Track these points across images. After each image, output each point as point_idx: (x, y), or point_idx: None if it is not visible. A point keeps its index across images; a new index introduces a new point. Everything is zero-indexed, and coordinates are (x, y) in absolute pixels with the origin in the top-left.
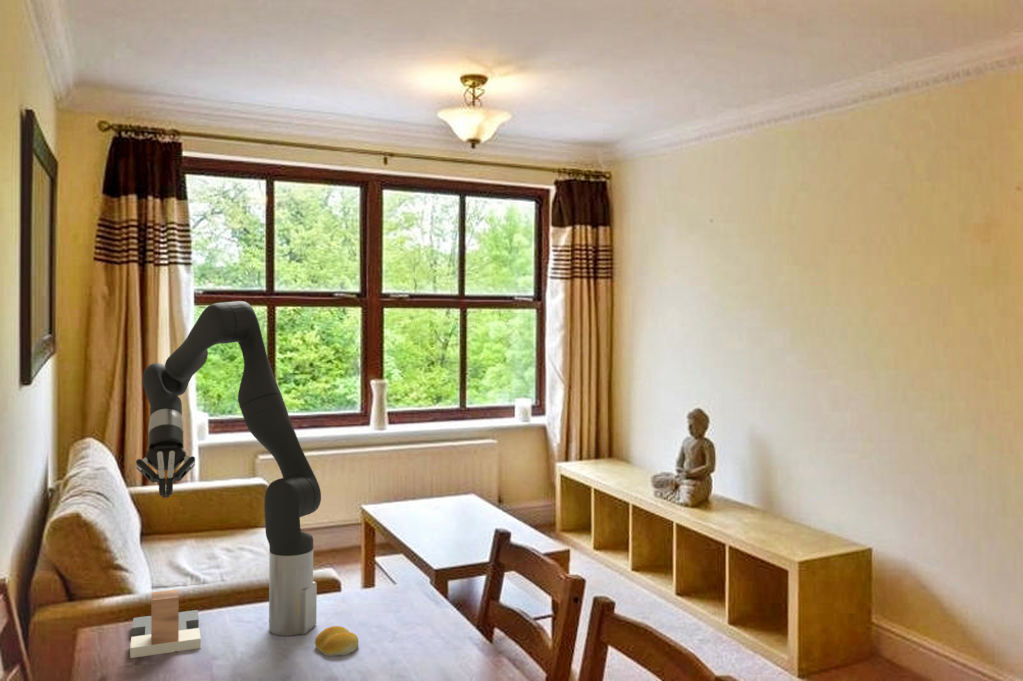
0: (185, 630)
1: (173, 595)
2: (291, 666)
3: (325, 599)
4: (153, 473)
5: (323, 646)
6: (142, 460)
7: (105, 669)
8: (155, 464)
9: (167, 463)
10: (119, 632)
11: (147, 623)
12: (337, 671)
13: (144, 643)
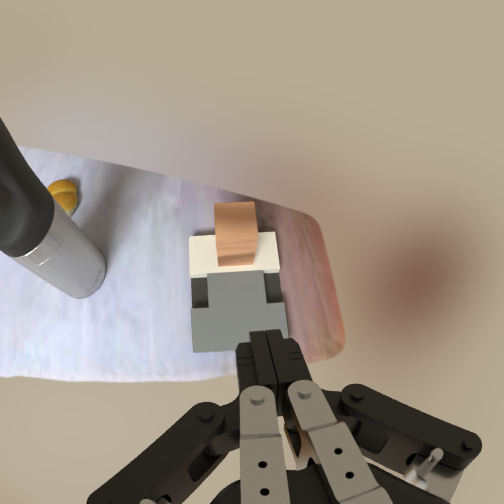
0: (208, 270)
1: (222, 213)
2: (110, 174)
3: (30, 359)
4: (357, 394)
5: (73, 187)
6: (453, 476)
7: (294, 216)
8: (371, 465)
9: (291, 480)
10: (302, 329)
11: (265, 314)
12: (81, 158)
13: (259, 241)
